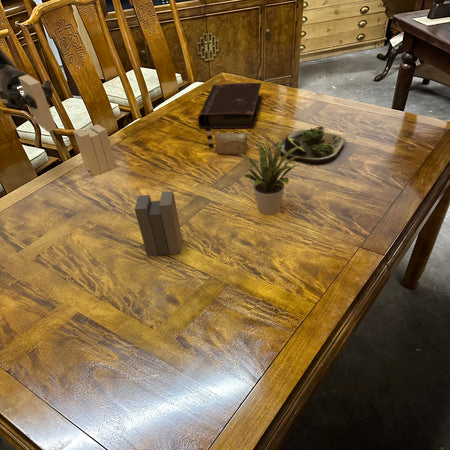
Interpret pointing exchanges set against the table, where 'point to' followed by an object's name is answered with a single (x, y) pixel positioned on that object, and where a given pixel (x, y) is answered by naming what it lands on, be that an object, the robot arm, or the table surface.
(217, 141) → the cuneiform tablet
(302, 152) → the salad plate
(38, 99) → the beige book
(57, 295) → the table surface
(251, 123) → the diary
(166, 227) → the grey books
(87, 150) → the beige books
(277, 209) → the house plant
